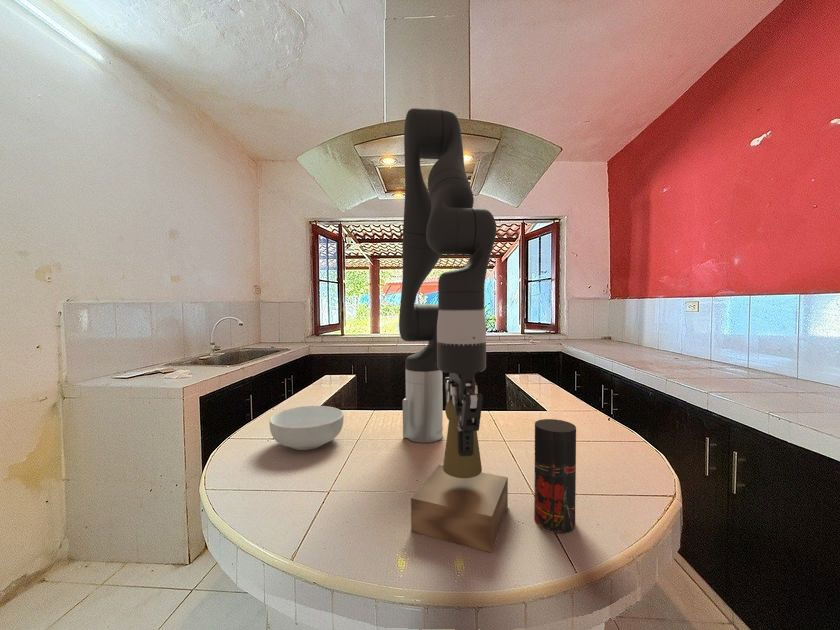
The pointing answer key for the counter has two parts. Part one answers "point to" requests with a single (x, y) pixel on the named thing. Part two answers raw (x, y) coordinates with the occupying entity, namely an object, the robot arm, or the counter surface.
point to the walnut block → (461, 508)
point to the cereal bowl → (306, 426)
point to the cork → (452, 459)
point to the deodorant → (555, 475)
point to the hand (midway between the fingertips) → (461, 448)
